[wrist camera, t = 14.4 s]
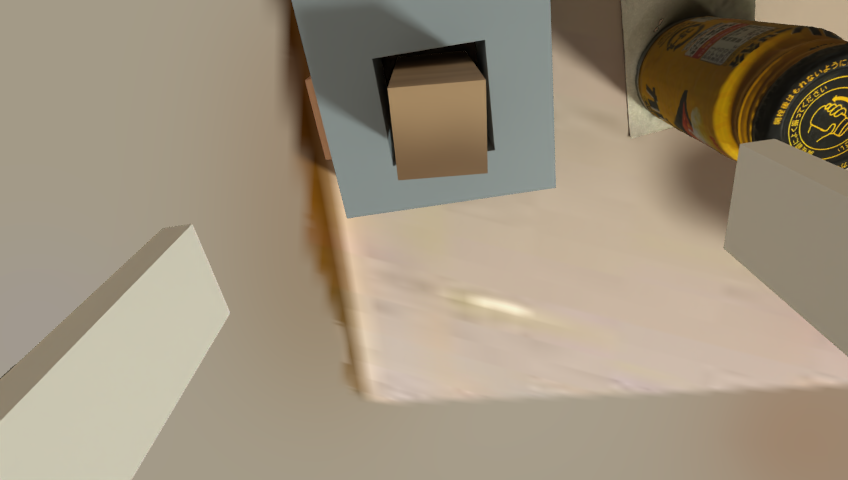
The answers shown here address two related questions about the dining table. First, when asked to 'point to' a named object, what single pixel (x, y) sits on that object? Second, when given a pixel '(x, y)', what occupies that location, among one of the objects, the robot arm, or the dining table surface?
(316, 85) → the socket block
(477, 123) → the plug
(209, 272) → the robot arm
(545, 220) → the dining table surface
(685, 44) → the condiment
